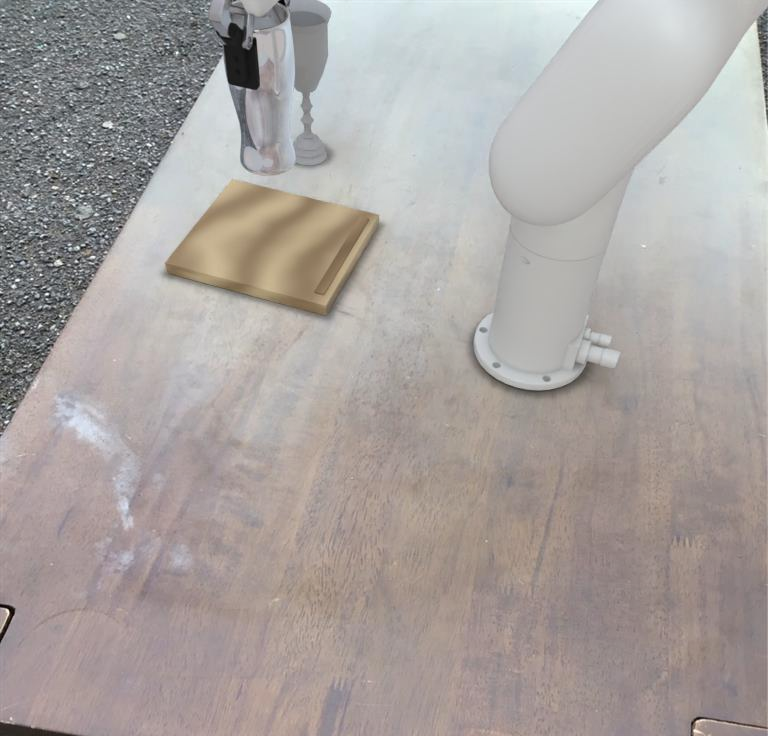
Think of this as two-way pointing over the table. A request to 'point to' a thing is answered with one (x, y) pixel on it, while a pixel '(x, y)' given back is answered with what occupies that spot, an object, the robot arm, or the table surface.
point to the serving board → (275, 246)
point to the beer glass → (267, 96)
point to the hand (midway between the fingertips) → (260, 66)
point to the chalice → (309, 69)
